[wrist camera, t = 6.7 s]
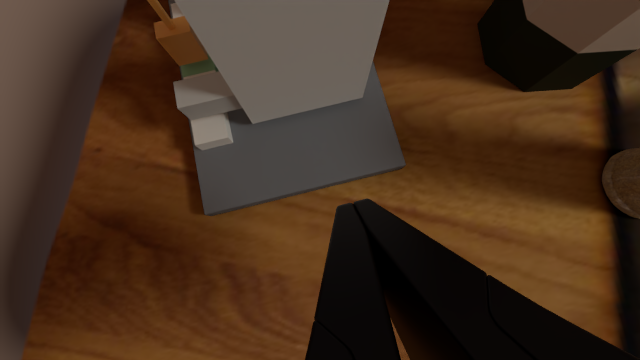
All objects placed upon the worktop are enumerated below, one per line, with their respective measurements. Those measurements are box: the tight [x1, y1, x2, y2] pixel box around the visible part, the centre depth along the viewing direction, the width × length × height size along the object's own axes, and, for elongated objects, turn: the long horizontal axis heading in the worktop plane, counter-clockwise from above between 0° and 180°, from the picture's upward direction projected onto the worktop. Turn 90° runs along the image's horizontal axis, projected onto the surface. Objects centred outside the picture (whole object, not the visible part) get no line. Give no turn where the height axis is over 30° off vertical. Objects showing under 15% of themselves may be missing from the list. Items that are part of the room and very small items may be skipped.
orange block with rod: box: [147, 0, 208, 66], centre depth 15 cm, size 1×2×4 cm, turn 104°
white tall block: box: [173, 0, 389, 124], centre depth 13 cm, size 2×10×10 cm, turn 104°
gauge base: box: [168, 0, 406, 216], centre depth 14 cm, size 17×12×12 cm
